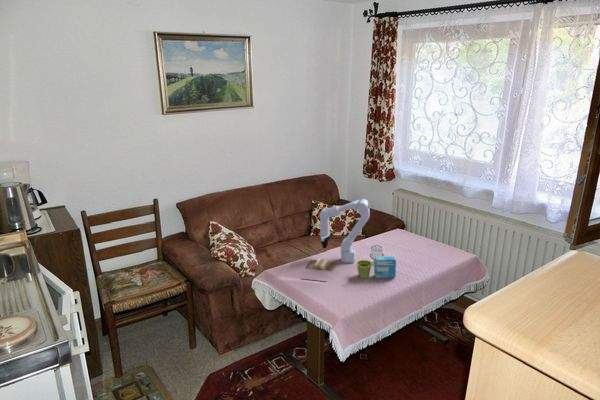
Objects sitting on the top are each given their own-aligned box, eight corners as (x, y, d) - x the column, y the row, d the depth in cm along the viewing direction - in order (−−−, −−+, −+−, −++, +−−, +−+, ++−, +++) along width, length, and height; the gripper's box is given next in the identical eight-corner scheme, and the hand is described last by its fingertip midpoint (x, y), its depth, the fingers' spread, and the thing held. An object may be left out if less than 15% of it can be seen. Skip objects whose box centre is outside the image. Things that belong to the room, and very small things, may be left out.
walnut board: (337, 264, 266) (337, 262, 266) (332, 273, 254) (332, 271, 254) (310, 261, 271) (310, 259, 271) (304, 270, 260) (304, 268, 259)
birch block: (327, 262, 266) (327, 259, 265) (324, 269, 257) (323, 266, 256) (318, 261, 268) (318, 258, 267) (314, 268, 259) (314, 265, 258)
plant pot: (370, 281, 243) (370, 267, 241) (354, 279, 247) (354, 265, 244) (373, 274, 252) (373, 261, 249) (357, 272, 255) (358, 259, 252)
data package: (375, 278, 246) (375, 260, 243) (374, 274, 251) (374, 256, 247) (395, 277, 246) (396, 259, 243) (393, 274, 250) (394, 256, 247)
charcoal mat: (331, 273, 255) (331, 272, 254) (326, 282, 244) (326, 281, 243) (306, 270, 259) (306, 269, 259) (300, 279, 248) (300, 278, 248)
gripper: (321, 223, 274) (321, 242, 277) (315, 231, 260) (316, 251, 264) (331, 224, 271) (332, 243, 275) (326, 232, 258) (327, 252, 262)
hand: (325, 247), depth 270 cm, fingers closed
